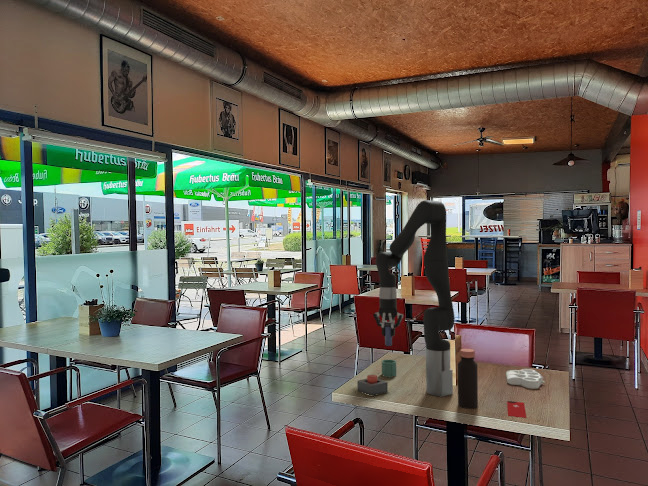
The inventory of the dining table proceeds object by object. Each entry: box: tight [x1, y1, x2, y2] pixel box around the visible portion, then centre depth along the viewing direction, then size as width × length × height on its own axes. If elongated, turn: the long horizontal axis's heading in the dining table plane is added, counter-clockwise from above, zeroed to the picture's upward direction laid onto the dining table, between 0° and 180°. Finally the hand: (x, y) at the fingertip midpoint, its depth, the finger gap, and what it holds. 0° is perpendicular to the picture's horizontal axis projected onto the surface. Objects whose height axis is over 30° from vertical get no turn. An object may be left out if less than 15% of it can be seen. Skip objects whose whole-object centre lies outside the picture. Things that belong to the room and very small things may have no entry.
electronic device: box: [506, 400, 527, 419], centre depth 167 cm, size 6×1×15 cm
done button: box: [366, 374, 378, 384], centre depth 188 cm, size 4×4×3 cm
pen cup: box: [381, 359, 397, 378], centre depth 210 cm, size 6×6×6 cm
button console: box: [356, 377, 389, 396], centre depth 188 cm, size 8×8×4 cm
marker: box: [384, 321, 393, 347], centre depth 210 cm, size 3×3×10 cm
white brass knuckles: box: [506, 368, 546, 390], centre depth 198 cm, size 3×18×15 cm
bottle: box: [457, 348, 479, 410], centre depth 171 cm, size 7×7×20 cm
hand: (388, 336), depth 210 cm, fingers closed on marker, 3 cm apart
